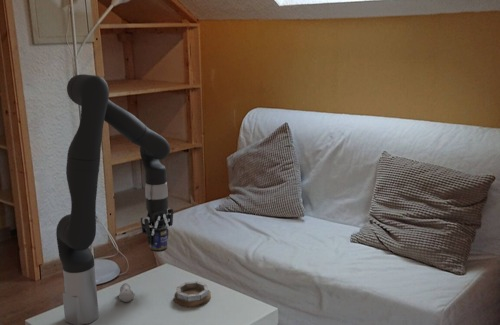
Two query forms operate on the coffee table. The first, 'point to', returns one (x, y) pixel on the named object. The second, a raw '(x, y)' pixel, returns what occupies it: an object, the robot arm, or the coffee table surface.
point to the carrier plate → (192, 304)
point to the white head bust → (126, 293)
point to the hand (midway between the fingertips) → (158, 241)
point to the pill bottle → (160, 237)
